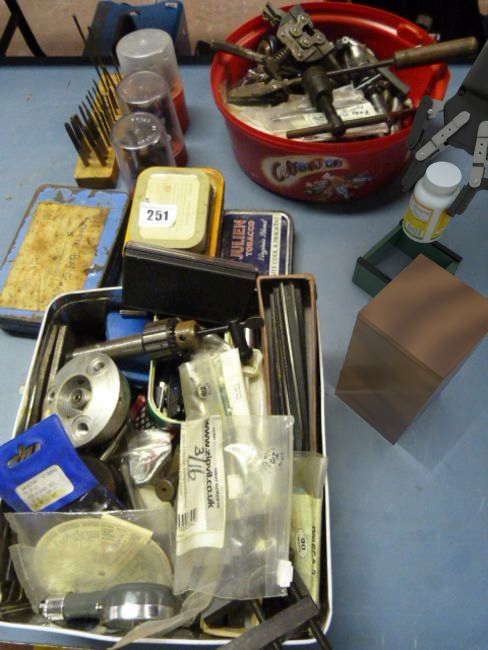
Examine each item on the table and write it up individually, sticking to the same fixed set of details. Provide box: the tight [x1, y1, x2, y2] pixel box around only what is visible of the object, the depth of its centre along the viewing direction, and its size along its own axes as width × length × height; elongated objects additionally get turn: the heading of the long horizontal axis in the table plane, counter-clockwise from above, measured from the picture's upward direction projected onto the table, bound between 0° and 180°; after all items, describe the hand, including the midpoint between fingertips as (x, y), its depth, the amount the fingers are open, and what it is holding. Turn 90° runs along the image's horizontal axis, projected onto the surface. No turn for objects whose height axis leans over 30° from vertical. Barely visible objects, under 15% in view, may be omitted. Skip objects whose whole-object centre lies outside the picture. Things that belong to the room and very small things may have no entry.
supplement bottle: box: [403, 161, 463, 243], centre depth 62 cm, size 5×5×10 cm
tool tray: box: [351, 217, 464, 298], centre depth 75 cm, size 11×11×6 cm
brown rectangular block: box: [334, 254, 488, 446], centre depth 59 cm, size 10×10×22 cm
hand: (427, 203), depth 60 cm, fingers closed on supplement bottle, 5 cm apart
